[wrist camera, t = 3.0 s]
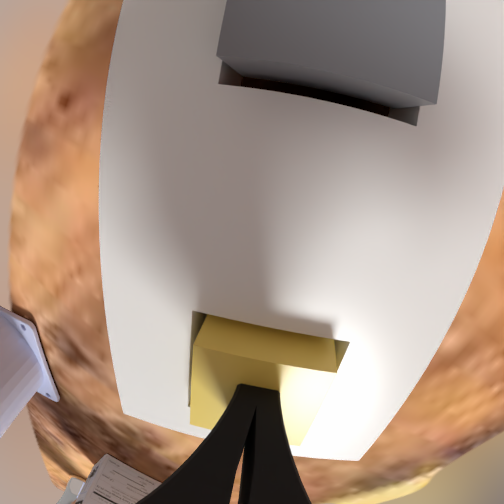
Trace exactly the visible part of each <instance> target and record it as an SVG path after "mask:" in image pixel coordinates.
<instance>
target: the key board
mask: <svg viewBox="0 0 504 504" xmlns="http://www.w3.org/2000/svg"><path fill="white" fill-rule="evenodd" d="M226 2H227V0H123V4H122V8H121V12H120V16H119V20H118V25H117V29H116V34H115V39H114V44H113V49H112V55H111V61H110V67H109V73H108V80H107V87H106V94H105V103H104V112H103V122H102V134H101V148H100V168H99V237H100V258H101V272H102V284H103V295H104V304H105V313H106V321H107V328H108V335H109V342H110V348H111V354H112V360H113V366H114V371H115V376H116V382H117V386H118V391H119V396H120V400H121V405H122V409H123V413H125V414H127V415H130V416H133V417H135V418H138V419H141V420H144V421H147V422H150V423H153V424H156V425H159V426H162V427H165V428H168V429H172V430H175V431H178V432H182V433H185V434H189V435H193V436H196V437H200V438H204V439H205V438H206V437H207V436H208V434H209V433H210V432H211V430H210V429H206V428H202V427H198V426H194V425H191V424H190V400H191V376H192V356H193V344H194V342H195V340H196V338H197V335H198V333H199V331H200V329H201V327H202V325H203V323H204V320H205V318H206V316H207V314H210V315H214V316H219V317H223V318H227V319H232V320H237V321H241V322H246V323H250V324H255V325H260V326H265V327H270V328H275V329H280V330H285V331H290V332H296V333H301V334H307V335H312V336H318V337H324V338H330V339H334V344H335V353H336V363H337V375H336V378H335V380H334V382H333V384H332V386H331V388H330V390H329V392H328V394H327V396H326V398H325V400H324V402H323V404H322V406H321V408H320V410H319V412H318V414H317V416H316V418H315V420H314V422H313V423H312V425H311V427H310V429H309V431H308V433H307V435H306V436H305V438H304V440H303V442H302V443H301V445H300V446H295V445H289V446H290V449H291V453H292V455H294V456H302V457H311V458H322V459H335V460H354V461H359V460H360V458H361V457H362V456H363V455H364V454H365V453H366V451H367V450H368V449H369V448H370V447H371V445H372V444H373V443H374V442H375V440H376V439H377V438H378V437H379V435H380V434H381V433H382V432H383V430H384V429H385V428H386V426H387V425H388V424H389V422H390V421H391V420H392V418H393V417H394V416H395V414H396V413H397V412H398V410H399V409H400V407H401V406H402V405H403V403H404V402H405V400H406V399H407V397H408V396H409V394H410V393H411V391H412V390H413V388H414V387H415V385H416V384H417V382H418V381H419V379H420V377H421V376H422V374H423V373H424V371H425V369H426V368H427V366H428V365H429V363H430V361H431V359H432V358H433V356H434V354H435V353H436V351H437V349H438V347H439V346H440V344H441V342H442V340H443V338H444V337H445V335H446V333H447V331H448V329H449V327H450V325H451V323H452V321H453V319H454V317H455V315H456V313H457V311H458V309H459V307H460V305H461V303H462V301H463V299H464V296H465V294H466V292H467V290H468V288H469V285H470V283H471V281H472V278H473V276H474V274H475V271H476V269H477V266H478V264H479V261H480V259H481V256H482V253H483V251H484V248H485V245H486V243H487V240H488V237H489V234H490V231H491V228H492V225H493V222H494V219H495V216H496V212H497V209H498V206H499V202H500V199H501V195H502V191H503V187H504V0H446V16H445V36H444V49H443V60H442V69H441V77H440V85H439V92H438V99H437V104H436V105H425V106H416V107H407V108H399V109H393V108H390V109H389V115H388V117H385V116H382V115H379V114H375V113H372V112H368V111H364V110H361V109H357V108H353V107H349V106H345V105H341V104H337V103H332V102H328V101H323V100H319V99H314V98H309V97H304V96H299V95H293V94H288V93H282V92H276V91H269V90H263V89H256V88H248V87H241V81H242V76H241V75H240V74H239V73H237V72H236V71H235V70H234V69H232V68H231V67H230V66H229V65H227V64H226V63H225V62H224V61H222V60H221V59H220V58H219V57H217V56H216V53H217V47H218V42H219V37H220V31H221V26H222V21H223V16H224V11H225V7H226Z"/></svg>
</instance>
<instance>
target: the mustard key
mask: <svg viewBox="0 0 504 504" xmlns="http://www.w3.org/2000/svg"><path fill="white" fill-rule="evenodd" d="M336 375H337V363H336V353H335V344H334V339H330V338H324V337H318V336H312V335H307V334H301V333H296V332H290V331H285V330H280V329H275V328H270V327H265V326H260V325H255V324H250V323H246V322H241V321H237V320H232V319H227V318H223V317H219V316H214V315H210V314H207V316H206V318H205V320H204V323H203V325H202V327H201V329H200V331H199V333H198V335H197V338H196V340H195V342H194V344H193V356H192V376H191V400H190V424H191V425H194V426H198V427H202V428H206V429H210V430H212V429H213V428H214V426H215V425H216V423H217V422H218V420H219V419H220V417H221V416H222V414H223V413H224V411H225V409H226V408H227V406H228V404H229V402H230V401H231V399H232V397H233V394H234V392H235V390H236V387H237V385H238V384H240V383H242V384H247V385H252V386H257V387H262V388H267V389H272V390H278V391H279V393H280V400H281V409H282V415H283V420H284V426H285V430H286V434H287V438H288V442H289V445H295V446H300V445H301V443H302V442H303V440H304V438H305V436H306V435H307V433H308V431H309V429H310V427H311V425H312V423H313V422H314V420H315V418H316V416H317V414H318V412H319V410H320V408H321V406H322V404H323V402H324V400H325V398H326V396H327V394H328V392H329V390H330V388H331V386H332V384H333V382H334V380H335V378H336Z"/></svg>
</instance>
